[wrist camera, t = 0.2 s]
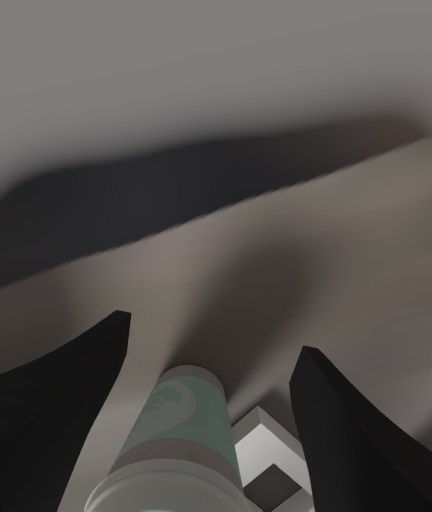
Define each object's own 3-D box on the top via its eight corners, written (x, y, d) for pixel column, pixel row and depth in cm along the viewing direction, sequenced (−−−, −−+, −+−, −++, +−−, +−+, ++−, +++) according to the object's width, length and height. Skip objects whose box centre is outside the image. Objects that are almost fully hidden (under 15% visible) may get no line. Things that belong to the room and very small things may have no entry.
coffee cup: (211, 331, 24) (202, 469, 12) (258, 416, 25) (292, 612, 13) (117, 375, 25) (24, 543, 13) (168, 454, 26) (126, 670, 14)
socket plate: (254, 563, 29) (257, 593, 26) (159, 489, 27) (154, 515, 25) (353, 489, 27) (365, 516, 24) (257, 404, 25) (261, 425, 23)
